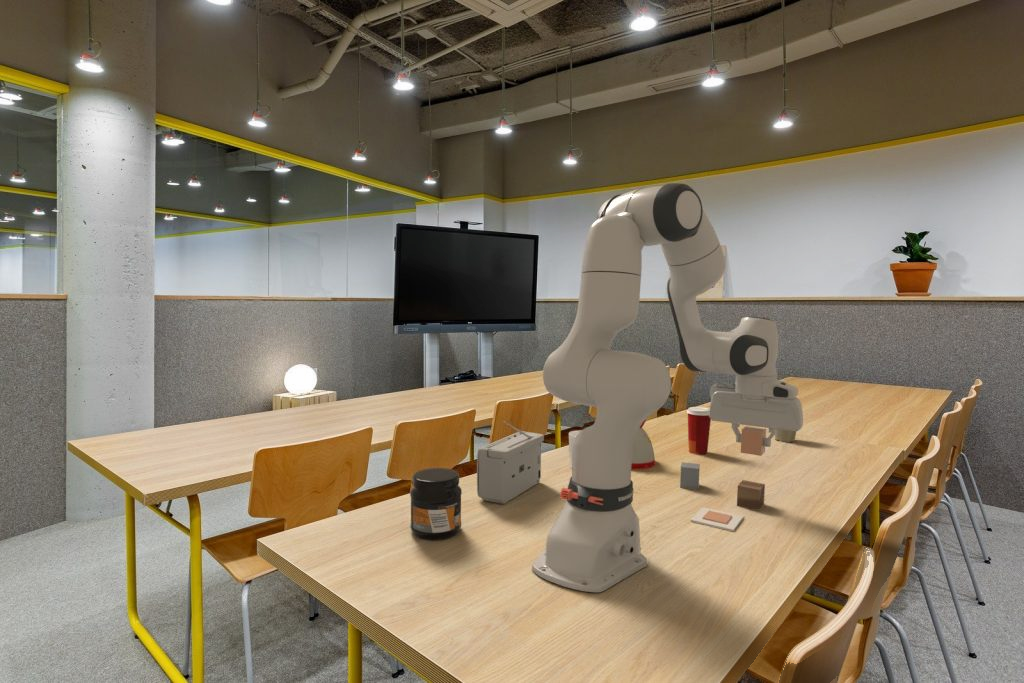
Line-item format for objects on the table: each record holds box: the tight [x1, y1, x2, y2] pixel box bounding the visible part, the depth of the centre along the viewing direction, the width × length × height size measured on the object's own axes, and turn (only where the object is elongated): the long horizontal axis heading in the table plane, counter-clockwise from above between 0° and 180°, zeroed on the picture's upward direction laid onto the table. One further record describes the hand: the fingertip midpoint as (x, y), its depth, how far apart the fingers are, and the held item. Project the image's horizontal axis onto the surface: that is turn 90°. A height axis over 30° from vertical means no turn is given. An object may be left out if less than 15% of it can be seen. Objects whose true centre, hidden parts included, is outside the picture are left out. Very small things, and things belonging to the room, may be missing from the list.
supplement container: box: [409, 467, 463, 541], centre depth 116 cm, size 10×10×12 cm
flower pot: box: [774, 429, 797, 443], centre depth 194 cm, size 9×9×9 cm
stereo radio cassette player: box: [476, 420, 545, 505], centre depth 140 cm, size 21×8×20 cm, turn 150°
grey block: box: [679, 461, 701, 491], centre depth 146 cm, size 4×4×6 cm
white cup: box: [568, 429, 583, 470], centre depth 160 cm, size 8×8×10 cm
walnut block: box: [736, 479, 766, 512], centre depth 132 cm, size 5×5×5 cm
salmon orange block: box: [740, 425, 767, 457], centre depth 132 cm, size 4×4×6 cm
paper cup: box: [686, 406, 712, 456], centre depth 178 cm, size 8×8×14 cm
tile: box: [689, 506, 744, 532], centre depth 123 cm, size 9×9×1 cm
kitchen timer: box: [631, 419, 656, 470], centre depth 166 cm, size 14×14×15 cm
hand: (753, 444), depth 132 cm, fingers closed on salmon orange block, 4 cm apart
